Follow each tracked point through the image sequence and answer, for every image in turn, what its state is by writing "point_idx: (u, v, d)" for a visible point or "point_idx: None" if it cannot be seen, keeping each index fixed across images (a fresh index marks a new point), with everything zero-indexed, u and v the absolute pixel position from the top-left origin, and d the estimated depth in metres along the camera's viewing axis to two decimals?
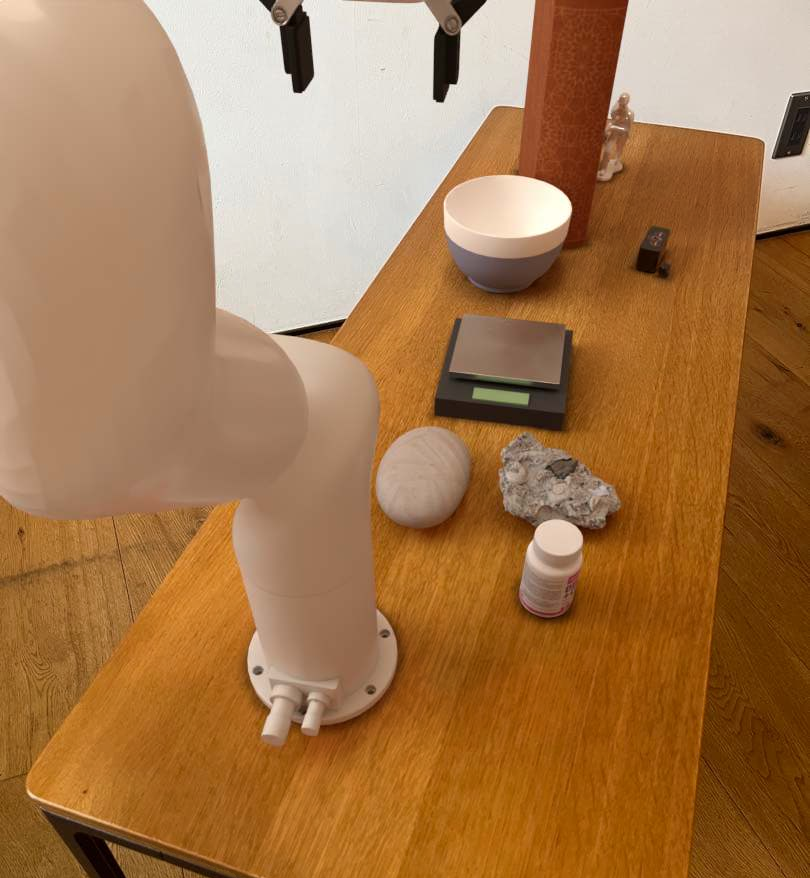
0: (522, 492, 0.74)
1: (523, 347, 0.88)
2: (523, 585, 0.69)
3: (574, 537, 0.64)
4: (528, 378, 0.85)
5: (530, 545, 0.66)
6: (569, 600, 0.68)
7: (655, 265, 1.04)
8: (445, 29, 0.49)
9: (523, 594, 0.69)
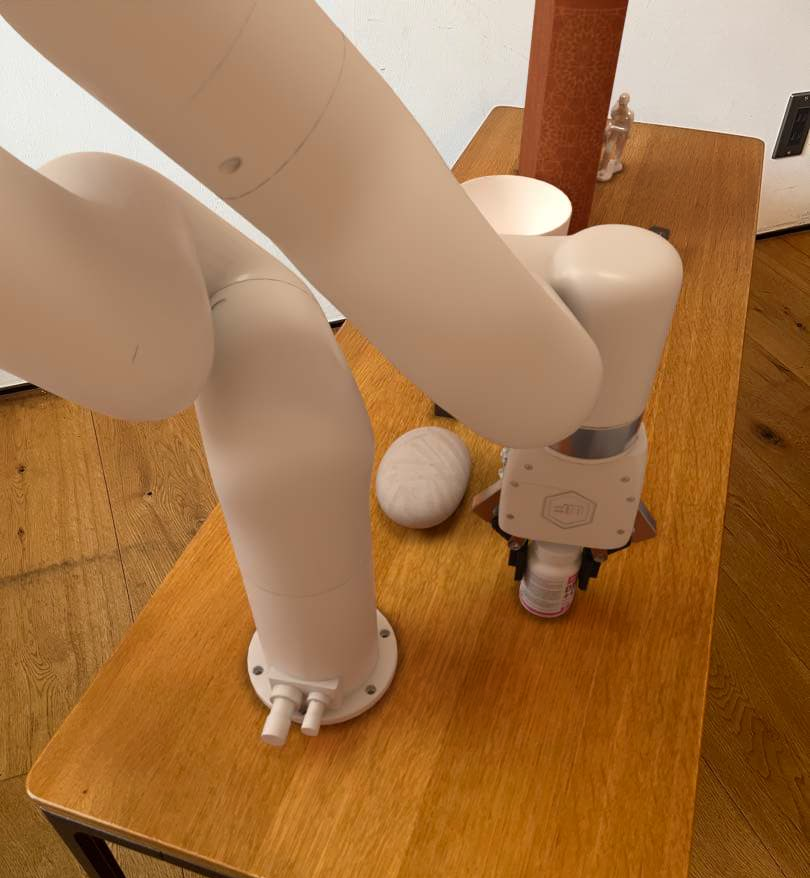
0: None
1: None
2: (523, 585, 0.69)
3: None
4: None
5: (530, 545, 0.66)
6: (569, 600, 0.68)
7: None
8: (594, 558, 0.63)
9: (523, 594, 0.69)
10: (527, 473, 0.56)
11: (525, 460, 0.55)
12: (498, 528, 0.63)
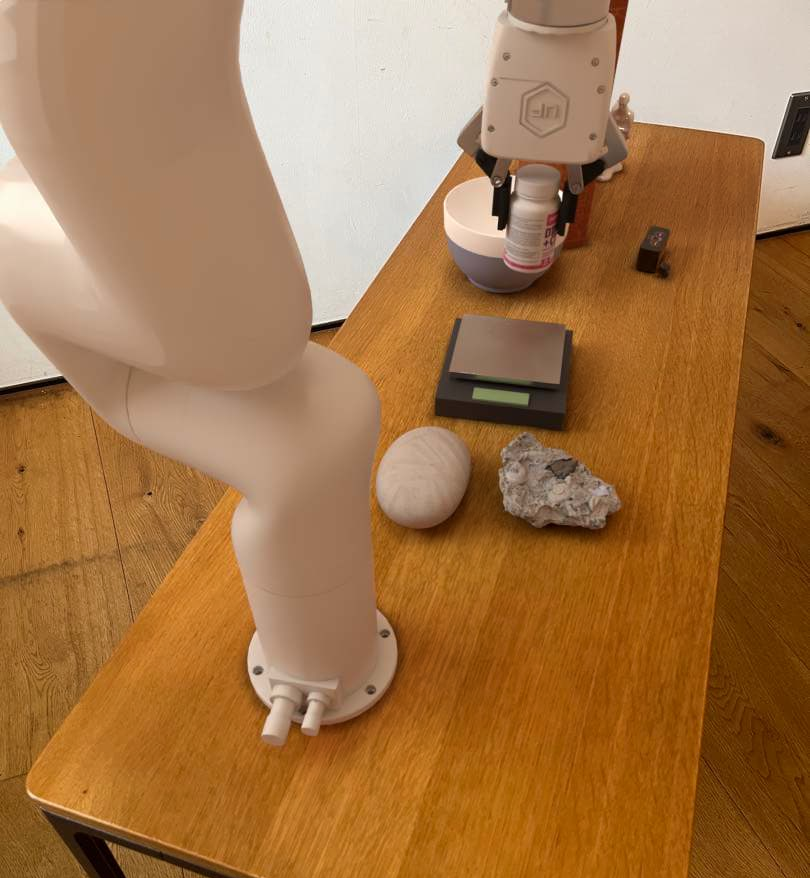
0: (522, 492, 0.74)
1: (523, 347, 0.88)
2: (506, 240, 0.73)
3: (553, 174, 0.69)
4: (528, 378, 0.85)
5: (512, 192, 0.71)
6: (549, 253, 0.73)
7: (655, 265, 1.04)
8: (571, 190, 0.68)
9: (507, 250, 0.74)
10: (505, 66, 0.61)
11: (503, 47, 0.60)
12: (481, 161, 0.68)
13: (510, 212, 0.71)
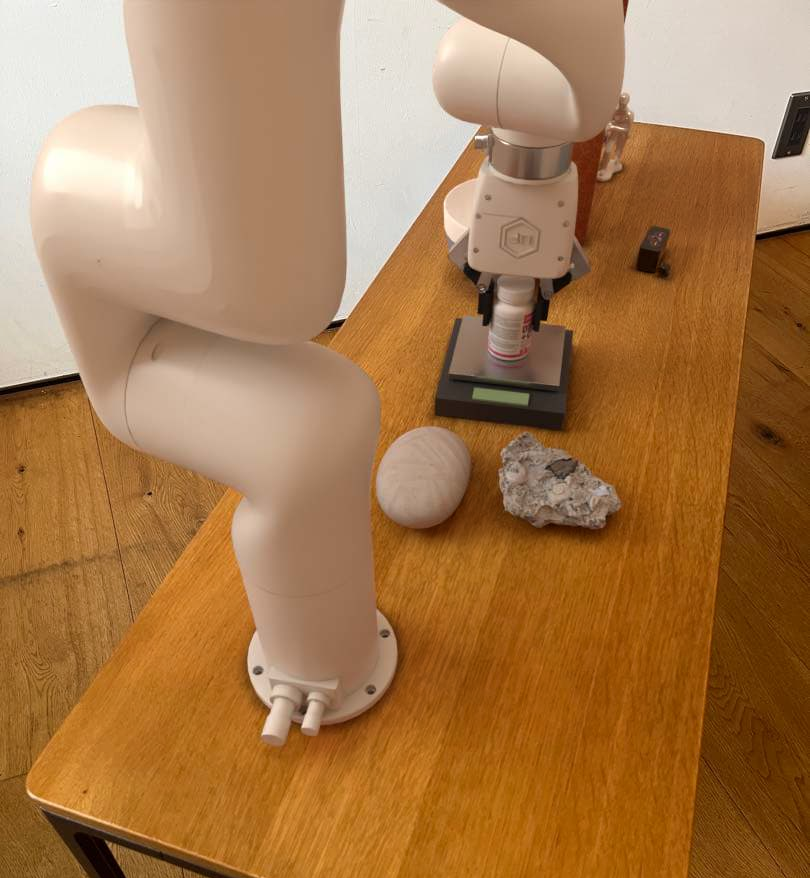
0: (522, 492, 0.74)
1: None
2: (490, 333, 0.86)
3: (528, 282, 0.82)
4: (528, 380, 0.85)
5: (495, 295, 0.84)
6: (526, 344, 0.86)
7: (655, 265, 1.04)
8: (543, 296, 0.81)
9: (490, 341, 0.86)
10: (487, 204, 0.73)
11: (485, 191, 0.73)
12: (468, 272, 0.81)
13: (493, 312, 0.84)
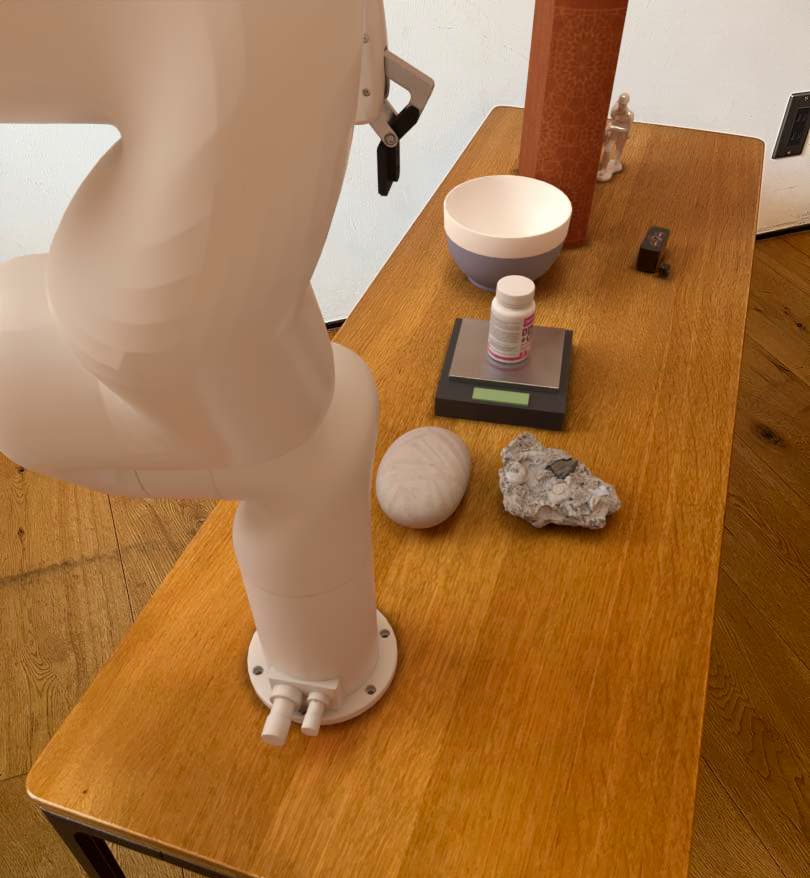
0: (522, 492, 0.74)
1: None
2: (490, 336, 0.86)
3: (528, 285, 0.82)
4: (527, 382, 0.85)
5: (494, 298, 0.84)
6: (526, 347, 0.86)
7: (655, 265, 1.04)
8: (385, 142, 0.61)
9: (490, 344, 0.87)
10: None
11: None
12: None
13: (493, 315, 0.84)
